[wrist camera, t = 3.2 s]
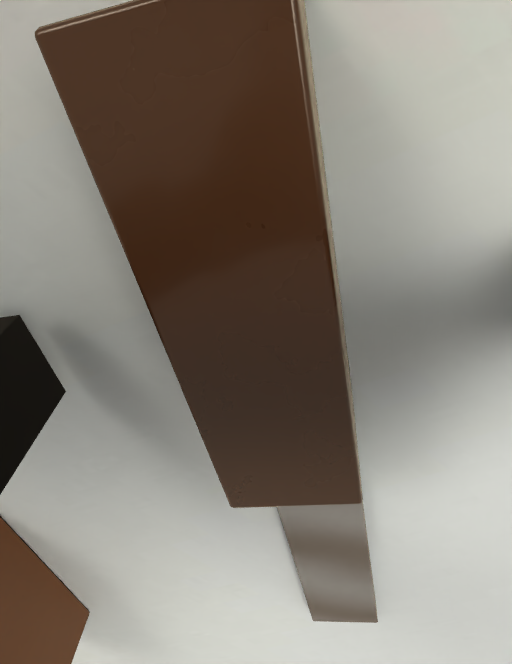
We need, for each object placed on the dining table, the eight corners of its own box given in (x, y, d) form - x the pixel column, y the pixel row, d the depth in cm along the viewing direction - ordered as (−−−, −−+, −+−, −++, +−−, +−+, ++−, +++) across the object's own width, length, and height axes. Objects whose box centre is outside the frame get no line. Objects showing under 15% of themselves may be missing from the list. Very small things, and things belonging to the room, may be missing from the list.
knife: (127, 18, 8) (27, 29, 5) (300, -30, 8) (293, -46, 5) (310, 607, 22) (310, 700, 19) (378, 608, 21) (389, 705, 18)
